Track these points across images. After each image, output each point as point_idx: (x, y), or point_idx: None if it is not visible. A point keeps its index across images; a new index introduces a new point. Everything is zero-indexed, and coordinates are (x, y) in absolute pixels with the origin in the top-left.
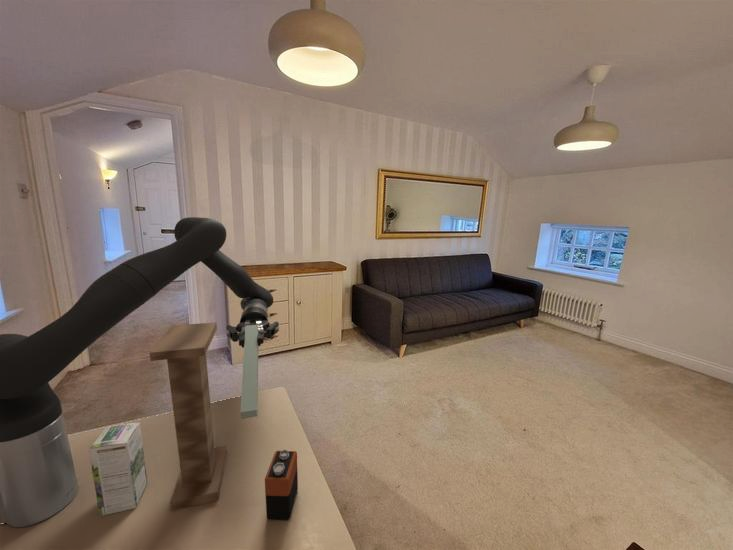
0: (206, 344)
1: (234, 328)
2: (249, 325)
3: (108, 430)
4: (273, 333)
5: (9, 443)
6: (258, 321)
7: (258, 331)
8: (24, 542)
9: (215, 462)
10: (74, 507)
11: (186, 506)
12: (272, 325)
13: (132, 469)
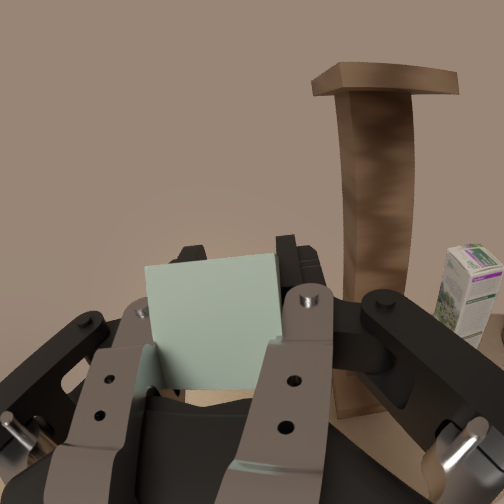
0: (314, 82)
1: (462, 472)
2: (228, 259)
3: (493, 260)
4: (69, 395)
5: None
6: (81, 458)
7: (162, 361)
8: (496, 314)
9: (346, 372)
10: (493, 340)
11: None
12: (24, 378)
13: (440, 296)
